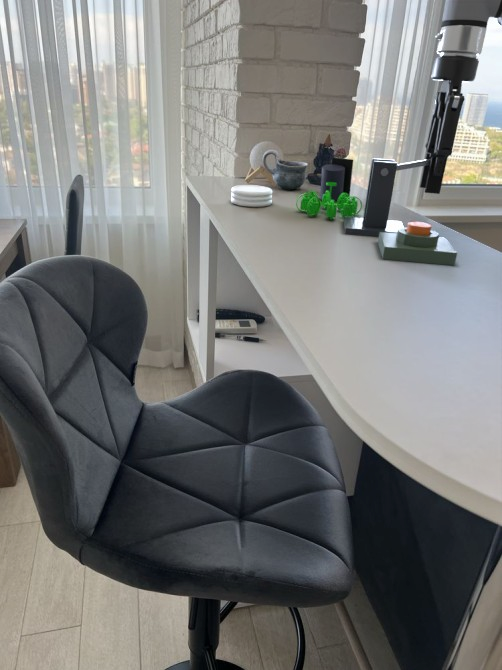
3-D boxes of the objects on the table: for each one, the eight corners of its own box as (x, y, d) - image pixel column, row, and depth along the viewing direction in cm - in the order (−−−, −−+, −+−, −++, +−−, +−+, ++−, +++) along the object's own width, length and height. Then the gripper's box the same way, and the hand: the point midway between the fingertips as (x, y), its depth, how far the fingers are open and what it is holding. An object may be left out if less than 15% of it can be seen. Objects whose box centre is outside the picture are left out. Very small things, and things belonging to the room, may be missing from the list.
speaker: (331, 195, 135) (336, 155, 130) (349, 200, 132) (354, 159, 127) (314, 201, 131) (318, 160, 125) (332, 206, 127) (337, 164, 122)
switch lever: (437, 164, 100) (437, 152, 99) (442, 168, 95) (442, 155, 94) (375, 175, 102) (374, 163, 101) (377, 179, 98) (376, 166, 97)
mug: (308, 192, 139) (312, 154, 134) (263, 190, 138) (265, 152, 133) (302, 186, 147) (305, 149, 143) (259, 184, 146) (261, 147, 142)
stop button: (427, 232, 91) (429, 222, 90) (431, 238, 87) (433, 227, 86) (404, 230, 91) (406, 220, 90) (407, 236, 88) (409, 226, 87)
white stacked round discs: (258, 209, 117) (259, 194, 115) (222, 203, 121) (223, 188, 119) (279, 203, 124) (280, 188, 123) (244, 197, 129) (245, 182, 127)
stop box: (442, 248, 95) (447, 227, 93) (454, 265, 86) (459, 242, 84) (377, 243, 96) (381, 222, 94) (382, 259, 87) (386, 236, 85)
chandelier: (355, 208, 123) (359, 179, 120) (365, 223, 109) (371, 191, 106) (293, 205, 123) (296, 175, 120) (296, 219, 110) (299, 187, 106)
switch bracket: (399, 226, 109) (412, 159, 102) (406, 239, 100) (420, 166, 94) (343, 222, 110) (352, 155, 104) (344, 233, 101) (354, 161, 95)
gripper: (426, 57, 98) (403, 181, 108) (446, 51, 82) (417, 197, 92) (466, 60, 97) (439, 184, 107) (494, 54, 81) (459, 200, 91)
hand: (429, 190), depth 100 cm, fingers closed on switch lever, 5 cm apart
